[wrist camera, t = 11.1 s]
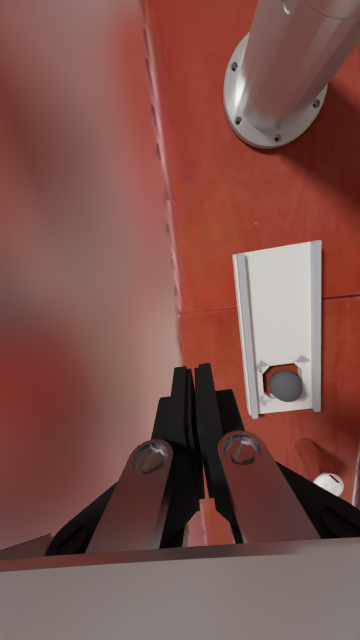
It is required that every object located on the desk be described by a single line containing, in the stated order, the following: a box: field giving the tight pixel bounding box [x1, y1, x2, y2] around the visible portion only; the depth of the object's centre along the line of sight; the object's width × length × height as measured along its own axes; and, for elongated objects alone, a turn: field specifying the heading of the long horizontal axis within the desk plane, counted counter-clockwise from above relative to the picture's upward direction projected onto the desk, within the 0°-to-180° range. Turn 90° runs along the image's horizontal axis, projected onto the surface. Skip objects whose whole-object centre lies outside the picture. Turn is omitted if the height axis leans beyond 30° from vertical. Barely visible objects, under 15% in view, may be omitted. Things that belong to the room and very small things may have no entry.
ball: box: [270, 371, 303, 402], centre depth 38 cm, size 5×5×5 cm
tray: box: [232, 240, 321, 419], centre depth 37 cm, size 28×12×2 cm, turn 9°
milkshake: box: [295, 438, 344, 496], centre depth 39 cm, size 4×5×10 cm
